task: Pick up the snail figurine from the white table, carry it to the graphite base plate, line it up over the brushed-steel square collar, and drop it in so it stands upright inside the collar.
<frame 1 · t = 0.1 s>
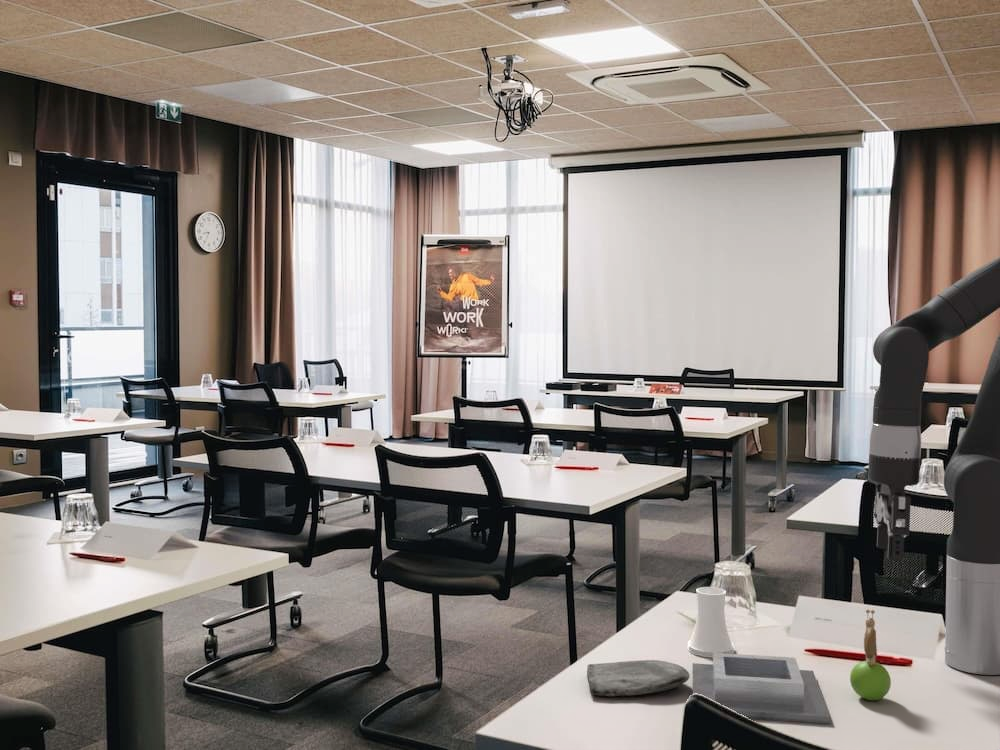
hand: (889, 554, 152), 17 cm above the table, fingers open, 8 cm apart
stone: (638, 690, 142), on the table
snail figurine: (869, 699, 137), on the table
collar block: (756, 694, 139), on the table
white flared stand: (710, 651, 158), on the table
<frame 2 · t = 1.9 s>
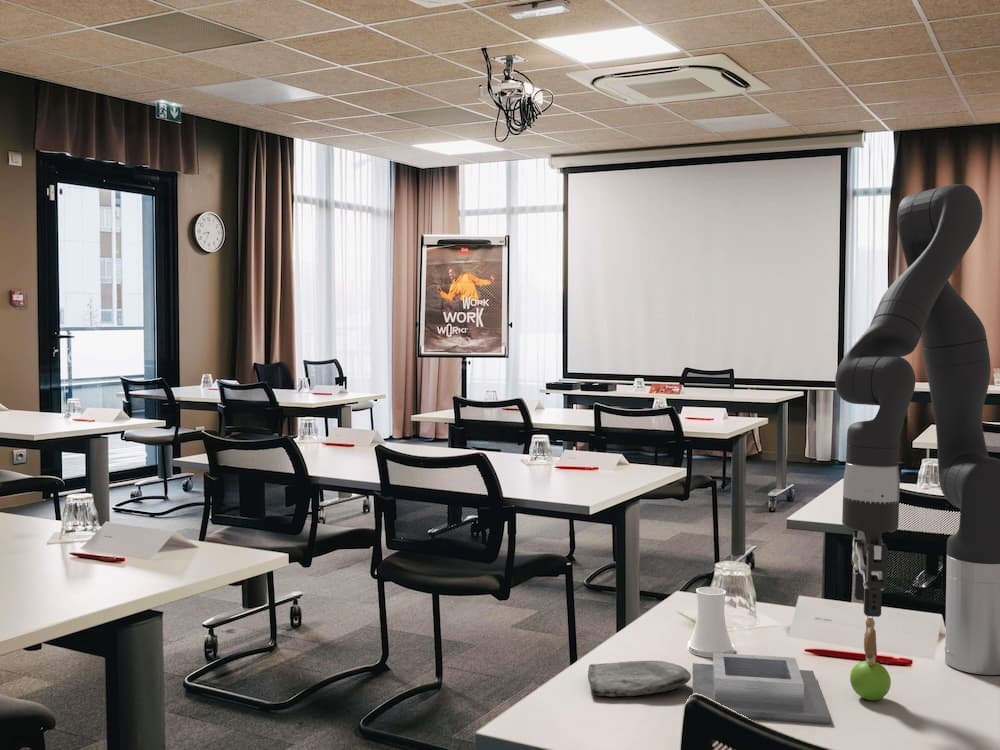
hand: (867, 607, 137), 13 cm above the table, fingers open, 8 cm apart
nothing on the table moved.
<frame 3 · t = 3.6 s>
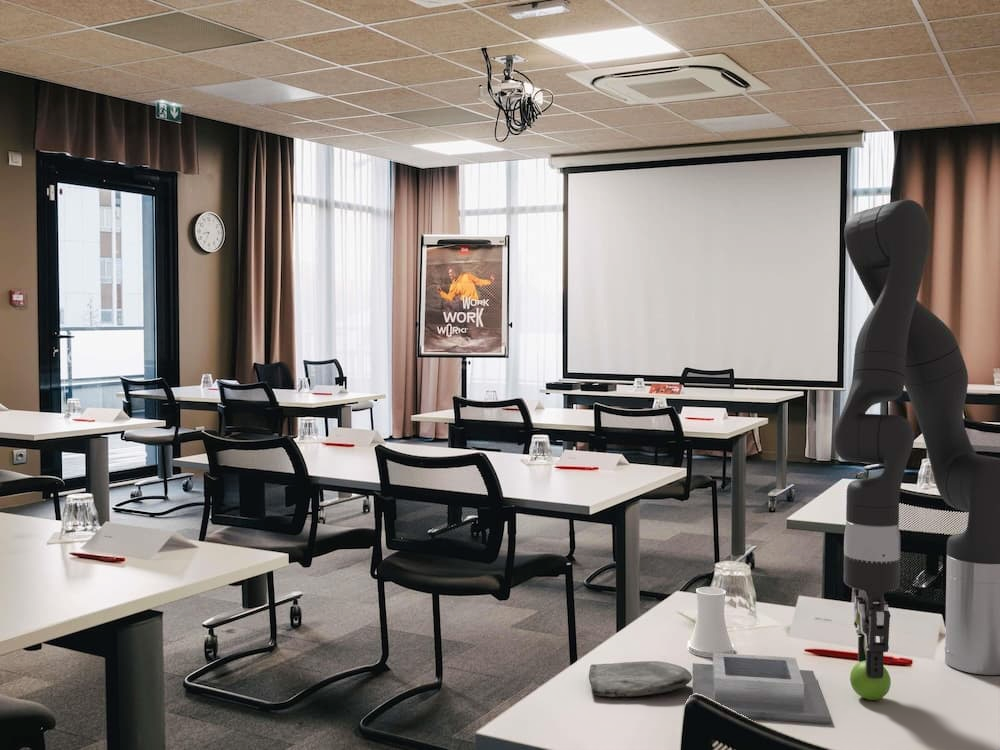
hand: (870, 669, 137), 4 cm above the table, fingers closed on snail figurine, 5 cm apart
snail figurine: (869, 698, 137), on the table, touching gripper
everything else where it was.
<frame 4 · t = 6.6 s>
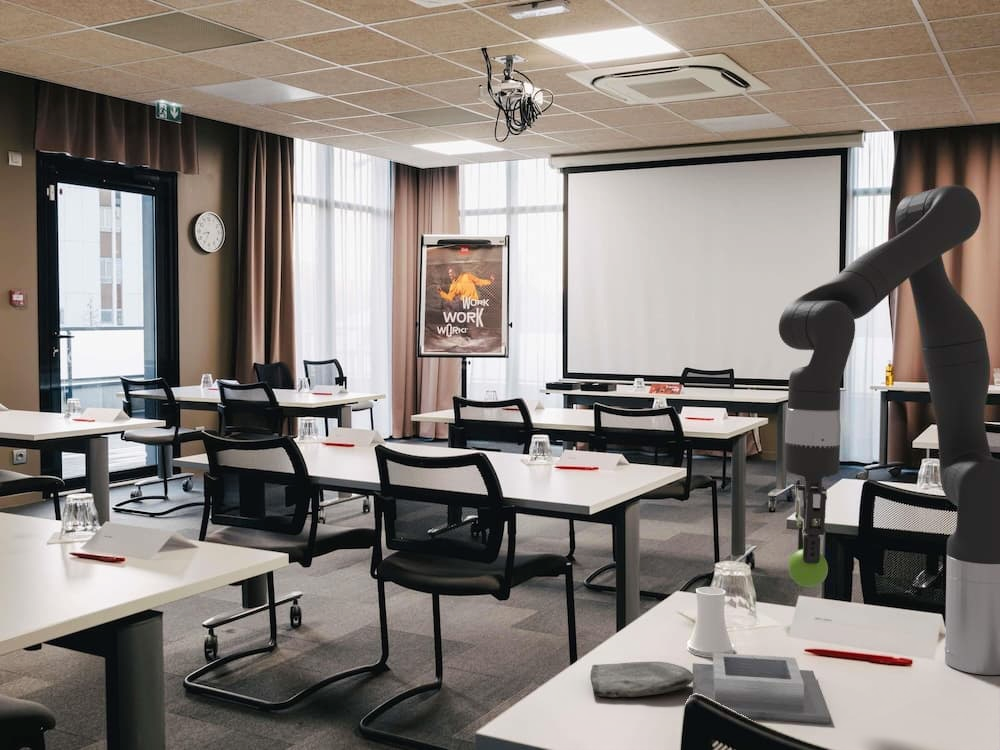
hand: (808, 557, 137), 20 cm above the table, fingers closed on snail figurine, 5 cm apart
snail figurine: (807, 587, 137), point 16 cm above the table, touching gripper
everything else where it was.
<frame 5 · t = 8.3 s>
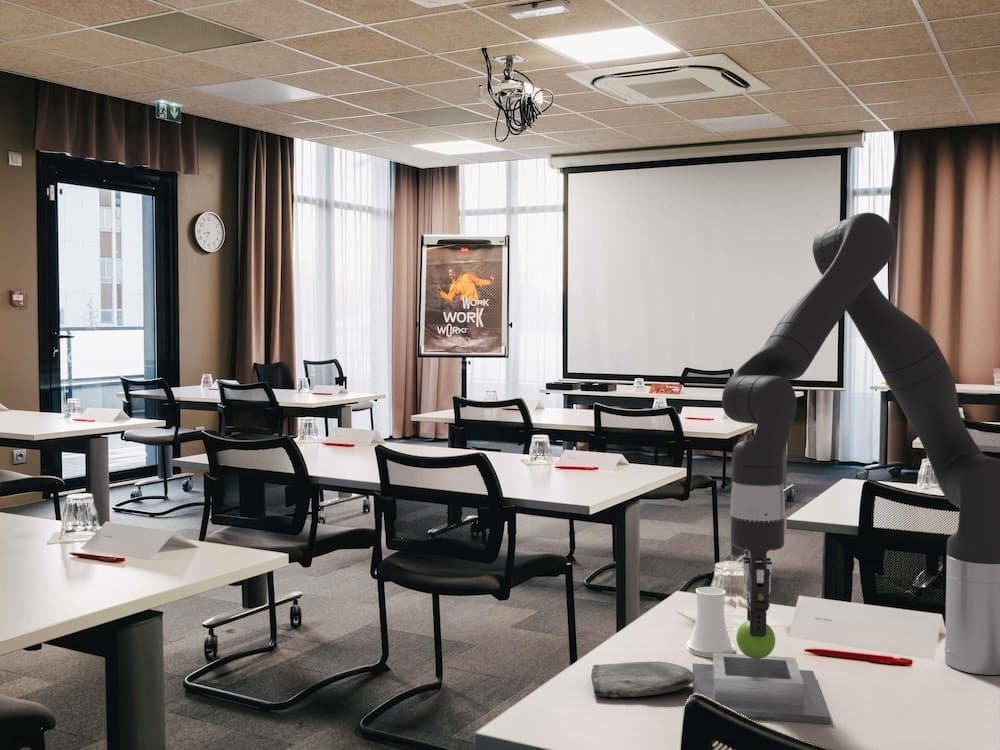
hand: (756, 628, 138), 10 cm above the table, fingers closed on snail figurine, 5 cm apart
snail figurine: (755, 658, 139), point 5 cm above the table, touching gripper
everything else where it was.
when the fingers open (6 cm above the table, at t = 9.6 s): snail figurine stays where it is, resting on collar block.
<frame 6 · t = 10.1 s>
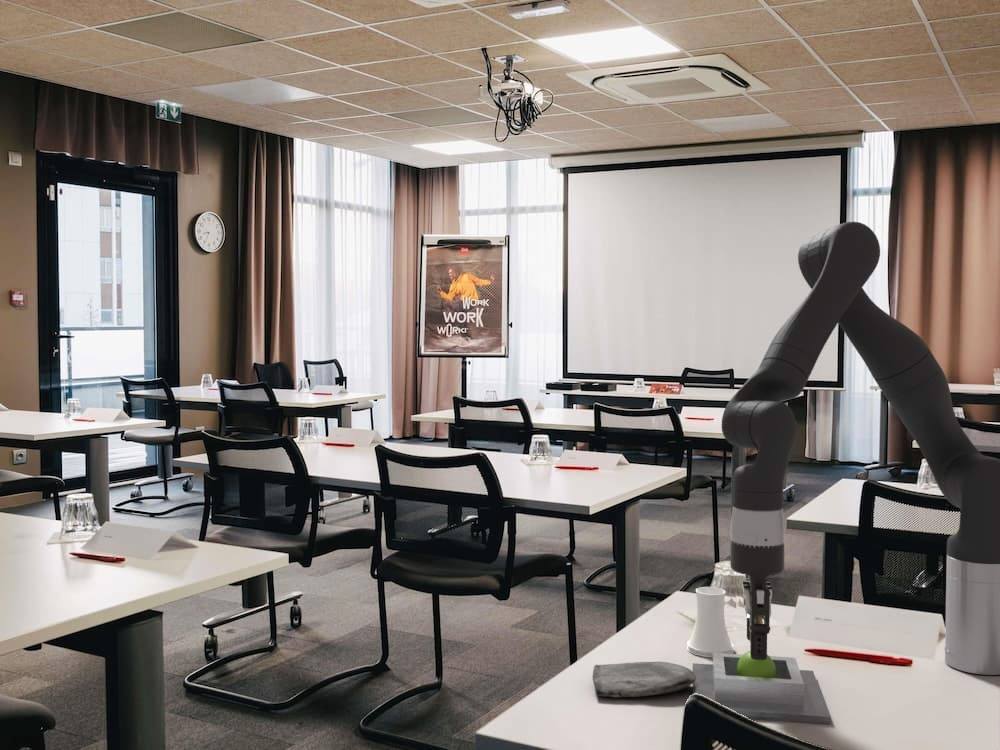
hand: (756, 649, 138), 7 cm above the table, fingers open, 8 cm apart
snail figurine: (756, 688, 139), point 1 cm above the table, touching collar block
everything else where it was.
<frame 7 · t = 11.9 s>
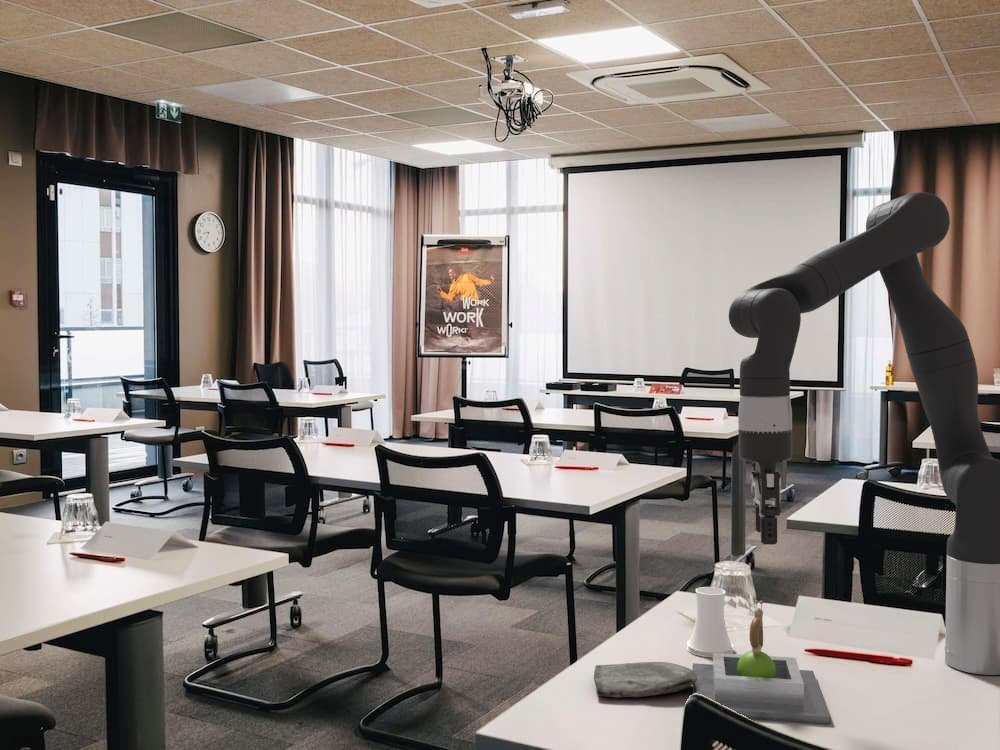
hand: (766, 537, 139), 23 cm above the table, fingers open, 8 cm apart
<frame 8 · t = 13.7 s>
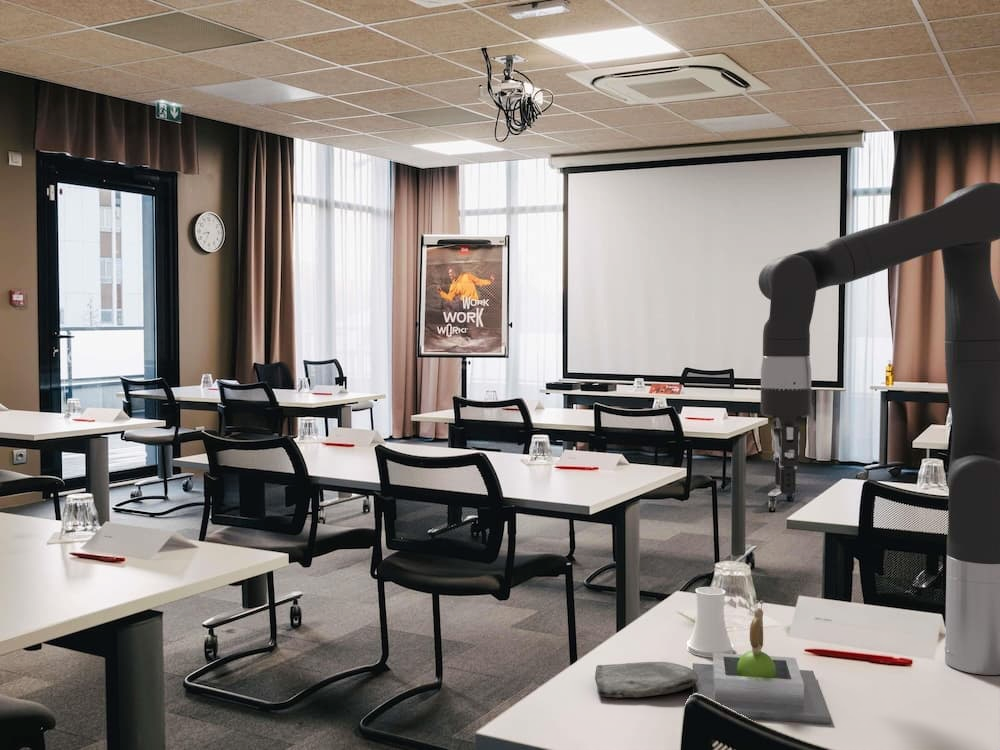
hand: (784, 489, 149), 28 cm above the table, fingers open, 8 cm apart
at the end: snail figurine 0.4 cm off-centre on the collar block, point 0.8 cm above the collar block's base; snail figurine tilted 0°; the gripper is holding nothing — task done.
